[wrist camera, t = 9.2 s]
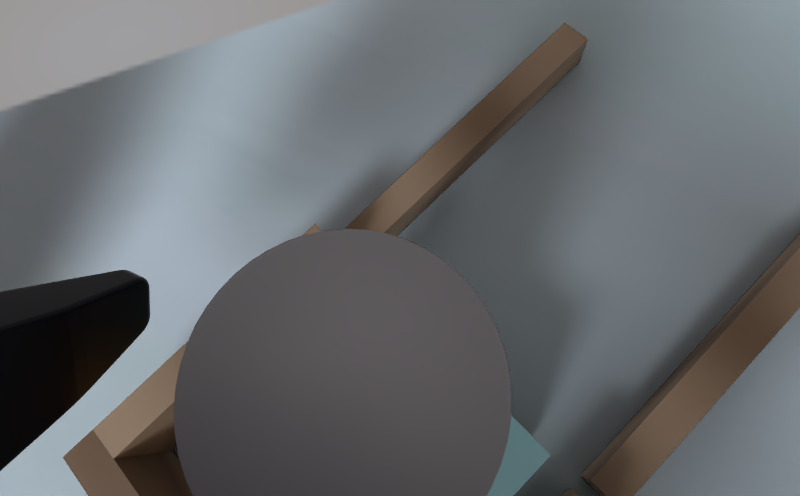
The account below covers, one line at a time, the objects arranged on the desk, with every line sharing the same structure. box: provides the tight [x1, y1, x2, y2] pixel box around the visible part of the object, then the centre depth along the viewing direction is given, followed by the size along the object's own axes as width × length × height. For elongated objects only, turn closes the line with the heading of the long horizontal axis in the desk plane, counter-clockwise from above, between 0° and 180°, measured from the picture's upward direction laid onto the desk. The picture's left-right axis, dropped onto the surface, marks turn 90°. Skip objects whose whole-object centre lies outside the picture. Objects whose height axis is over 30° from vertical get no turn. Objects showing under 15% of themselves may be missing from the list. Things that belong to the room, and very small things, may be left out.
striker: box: [174, 229, 551, 496], centre depth 11 cm, size 3×6×12 cm, turn 44°
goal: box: [63, 23, 800, 496], centre depth 15 cm, size 20×11×3 cm, turn 134°
